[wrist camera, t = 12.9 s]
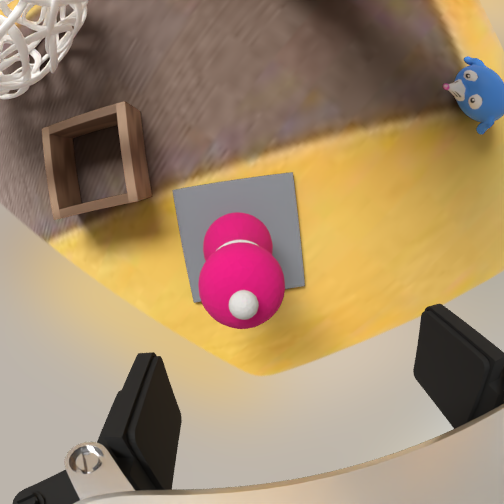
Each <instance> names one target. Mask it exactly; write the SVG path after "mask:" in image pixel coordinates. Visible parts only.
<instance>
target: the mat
mask: <svg viewBox="0 0 504 504" xmlns="http://www.w3.org/2000/svg"><path fill="white" fill-rule="evenodd" d="M173 196H174V202H175V208H176V214H177V220H178V225H179V231H180V236H181V242H182V247H183V252H184V257H185V262H186V267H187V272H188V277H189V282H190V287H191V291H192V296H193V301H194V302H201V299H200V296H199V286H198V282H199V276H200V272H201V269H202V267H203V265H204V263H205V262H206V261H205V258H204V253H203V242H204V237H205V234H206V232H207V230H208V228H209V227H210V225H211V224H212V223H213V222H214V221H215V220H217V219H218V218H220V217H222V216H223V215H226V214H229V213H235V212H240V213H246V214H250V215H252V216H254V217H256V218H258V219H259V220H260V221H261V222H263V224H264V225H265V226H266V227H267V229H268V231H269V233H270V235H271V239H272V244H273V250H272V255H273V257H274V258H275V259H276V260H277V261H278V263H279V264H280V266H281V268H282V271H283V274H284V280H285V289H288V288H294V287H300V286H305V283H304V271H303V261H302V250H301V240H300V231H299V222H298V213H297V204H296V195H295V187H294V179H293V172H291V173H283V174H275V175H267V176H259V177H252V178H244V179H237V180H231V181H224V182H218V183H211V184H205V185H199V186H193V187H187V188H181V189H176V190H173Z"/></svg>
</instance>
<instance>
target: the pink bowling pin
mask: <svg viewBox="0 0 504 504" xmlns="http://www.w3.org/2000/svg"><path fill="white" fill-rule="evenodd" d="M272 250H273V244H272V239H271V235H270V233H269V231H268V229H267V227H266V226H265V225H264V224H263V222H261V221H260V220H259V219H258V218H256V217H254V216H252V215H250V214H246V213H240V212H235V213H229V214H226V215H223V216H222V217H220V218H218V219H217V220H215V221H214V222H213V223H212V224H211V225H210V227H209V228H208V230H207V232H206V234H205V237H204V242H203V253H204V258H205V261H206V262H205V263H204V265H203V267H202V269H201V272H200V276H199V282H198V286H199V296H200V299H201V302H202V304H203V306H204V308H205V309H206V311H207V312H208V313H209V314H210V315H211V317H213V318H214V319H215V320H216V321H218V322H219V323H221V324H223V325H226V326H229V327H232V328H237V329H247V328H252V327H256V326H258V325H260V324H262V323H264V322H265V321H267V320H269V319H270V318H271V317H272V316H273V315H274V314H275V313H276V311H277V310H278V309H279V307H280V305H281V303H282V300H283V297H284V292H285V280H284V274H283V271H282V268H281V266H280V264H279V263H278V261H277V260H276V259H275V258H274V257H273V255H272Z"/></svg>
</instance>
